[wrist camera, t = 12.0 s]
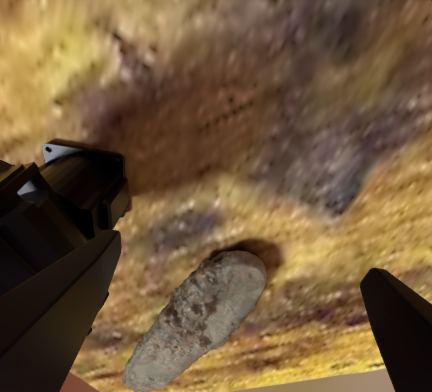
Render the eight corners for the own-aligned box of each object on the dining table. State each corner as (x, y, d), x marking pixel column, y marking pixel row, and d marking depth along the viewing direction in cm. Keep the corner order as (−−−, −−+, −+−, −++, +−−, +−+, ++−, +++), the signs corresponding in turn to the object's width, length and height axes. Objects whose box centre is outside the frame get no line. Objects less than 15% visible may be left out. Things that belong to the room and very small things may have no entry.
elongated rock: (114, 357, 42) (168, 368, 45) (103, 395, 38) (163, 405, 41) (206, 228, 24) (286, 259, 27) (204, 273, 20) (299, 305, 23)
